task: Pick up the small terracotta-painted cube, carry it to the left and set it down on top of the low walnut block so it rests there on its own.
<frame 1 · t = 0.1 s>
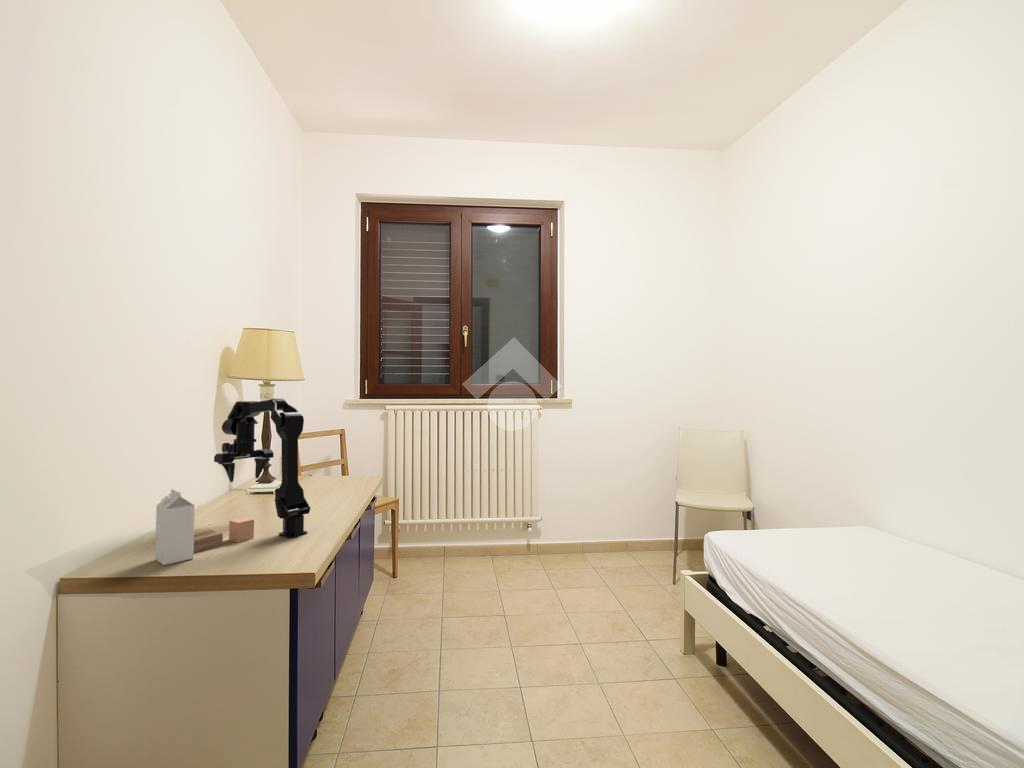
hand: (244, 480, 178), 15 cm above the table, fingers open, 9 cm apart
walnut block: (201, 547, 149), on the table
terracotta cube: (241, 539, 158), on the table
milk carton: (174, 560, 138), on the table
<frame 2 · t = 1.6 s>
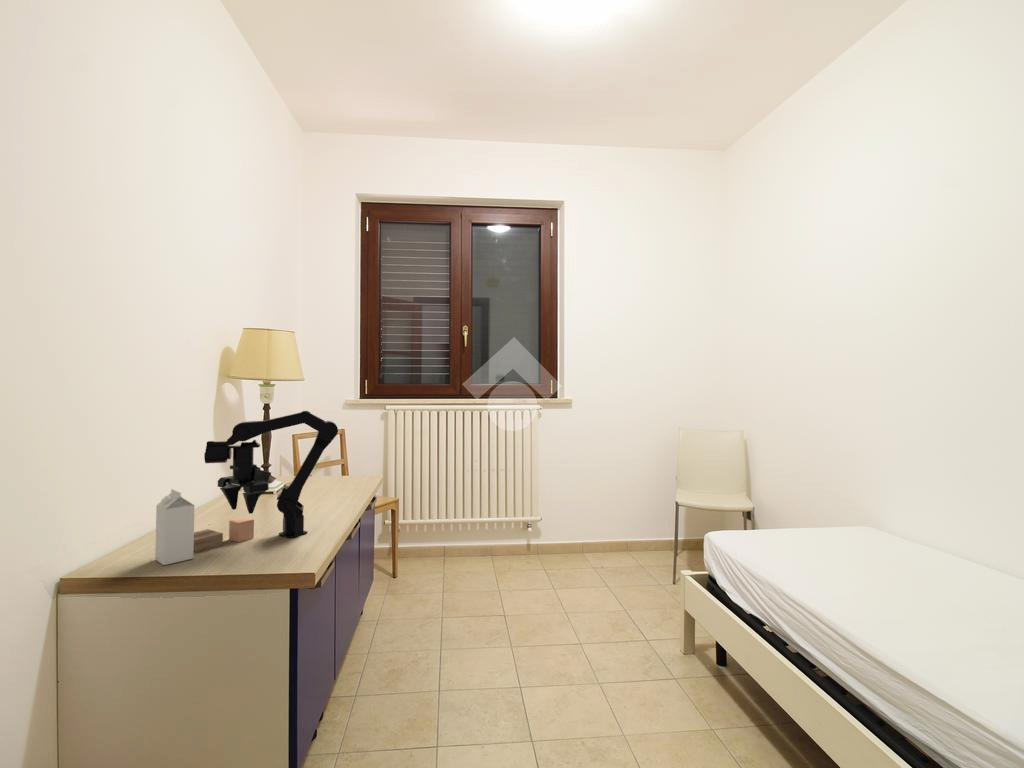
hand: (242, 511, 158), 9 cm above the table, fingers open, 9 cm apart
nothing on the table moved.
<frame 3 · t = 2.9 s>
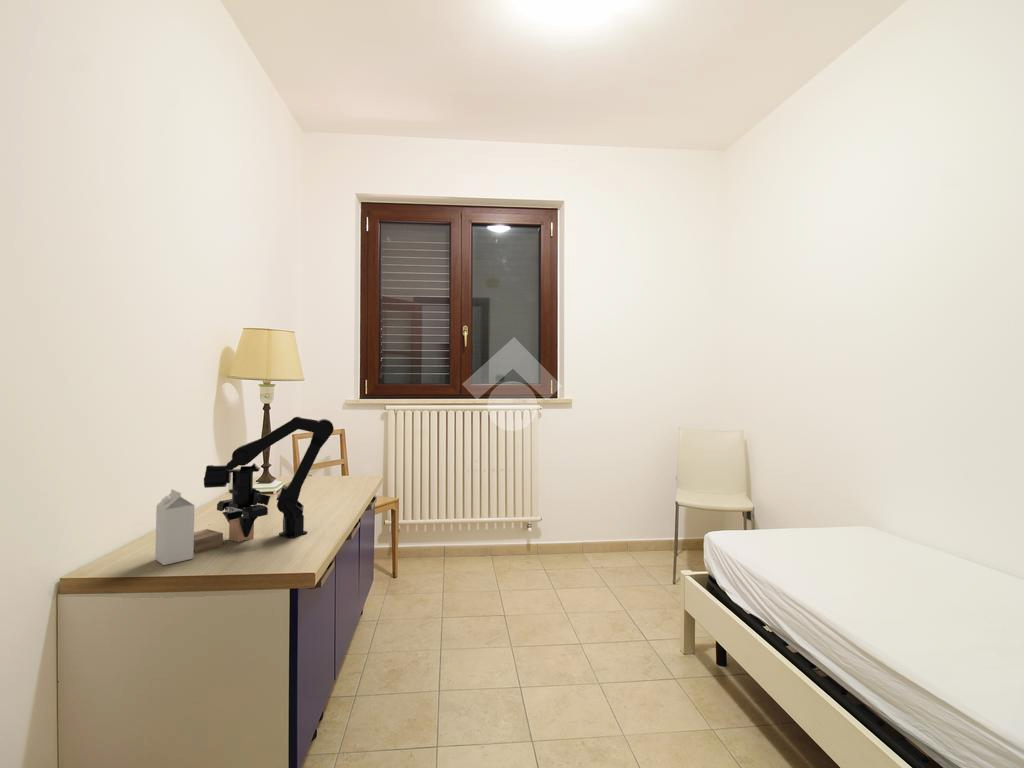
hand: (241, 535, 158), 1 cm above the table, fingers closed on terracotta cube, 5 cm apart
terracotta cube: (241, 538, 158), on the table, touching gripper
everything else where it was.
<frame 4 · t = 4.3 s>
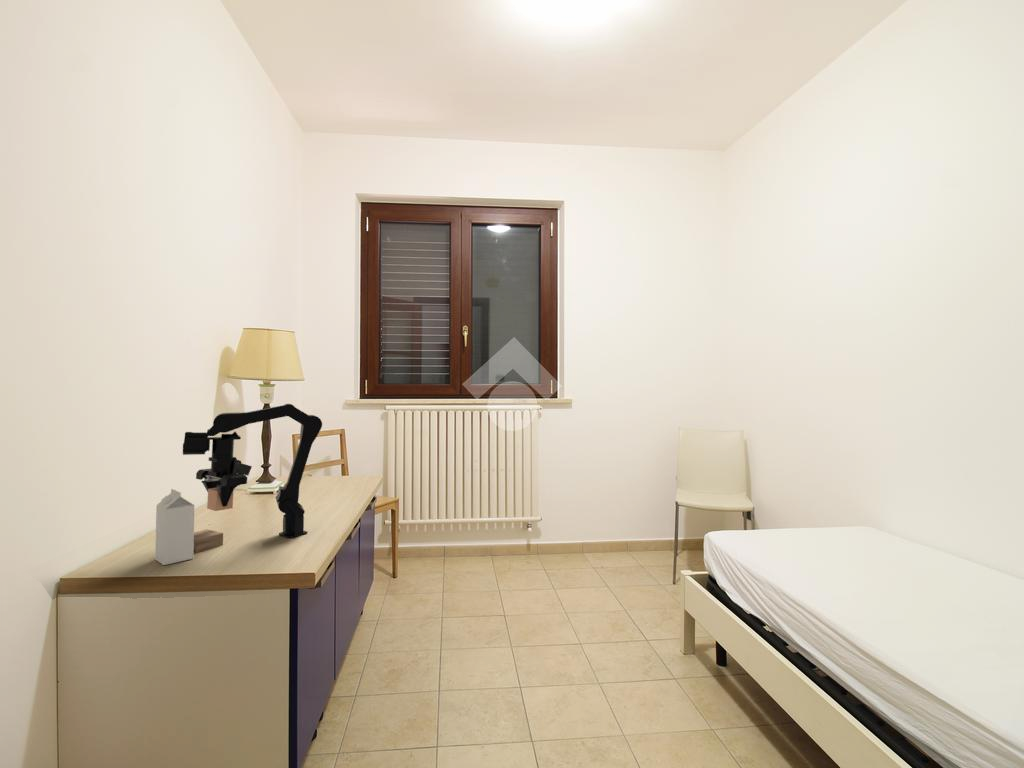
hand: (219, 505, 153), 12 cm above the table, fingers closed on terracotta cube, 5 cm apart
terracotta cube: (219, 508, 153), point 11 cm above the table, touching gripper
everything else where it was.
when the fingers open (7 cm above the table, at t = 5.7 s): terracotta cube drops 2 cm, point 4 cm above the table.
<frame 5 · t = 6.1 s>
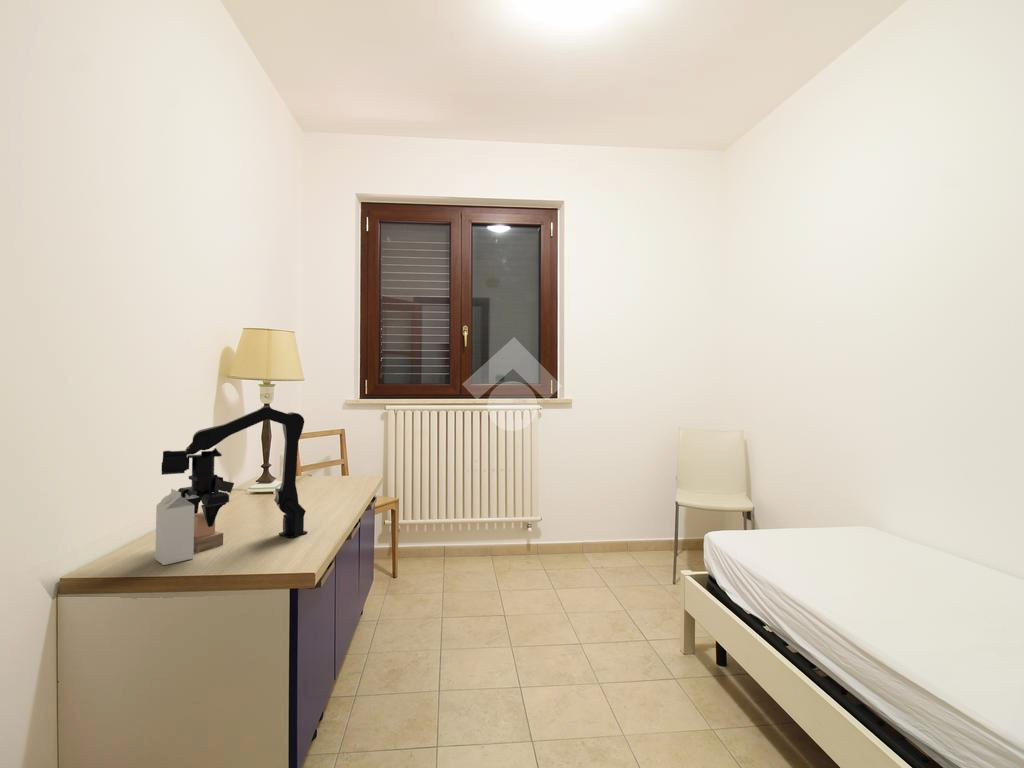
hand: (202, 524, 149), 7 cm above the table, fingers open, 9 cm apart
terracotta cube: (201, 534, 149), point 4 cm above the table
everything else where it was.
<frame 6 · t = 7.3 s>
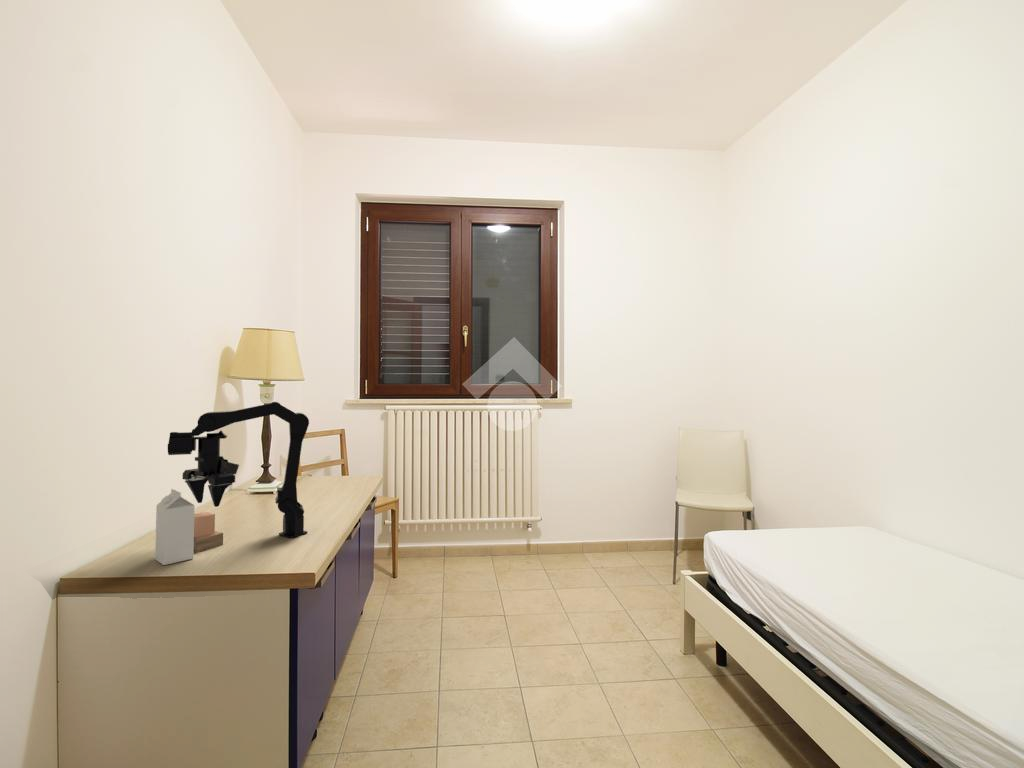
hand: (208, 504, 153), 12 cm above the table, fingers open, 9 cm apart
walnut block: (201, 547, 149), on the table, touching terracotta cube
terracotta cube: (201, 534, 149), point 4 cm above the table, touching walnut block
everything else where it was.
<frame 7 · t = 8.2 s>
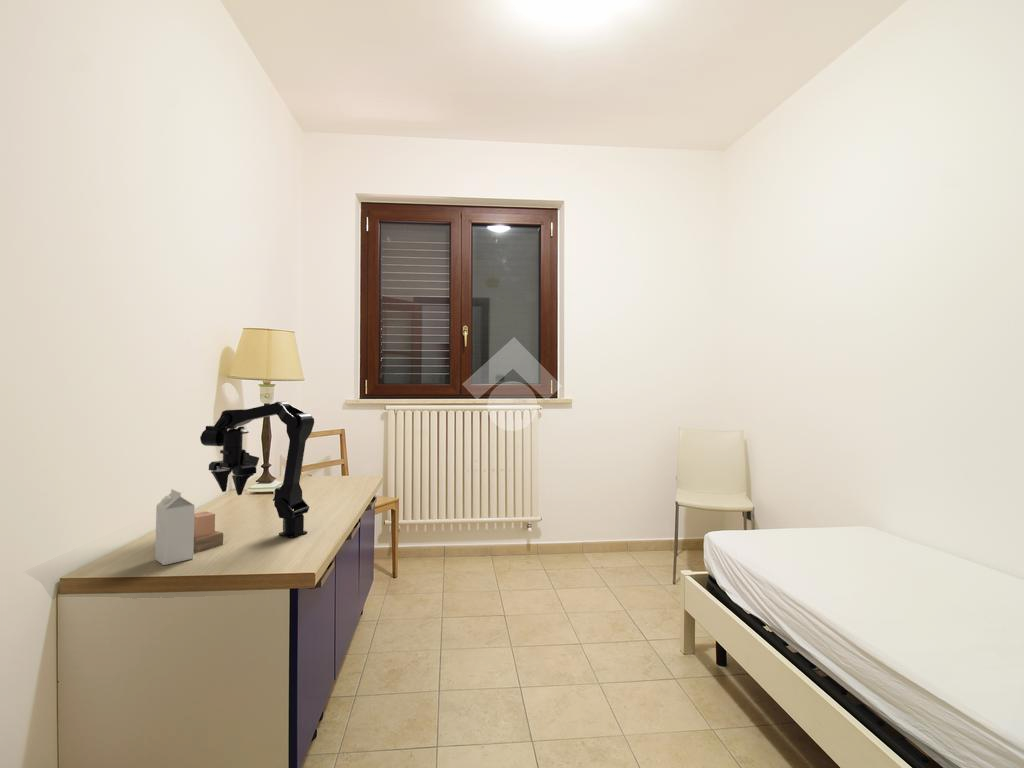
hand: (231, 493, 168), 12 cm above the table, fingers open, 9 cm apart
nothing on the table moved.
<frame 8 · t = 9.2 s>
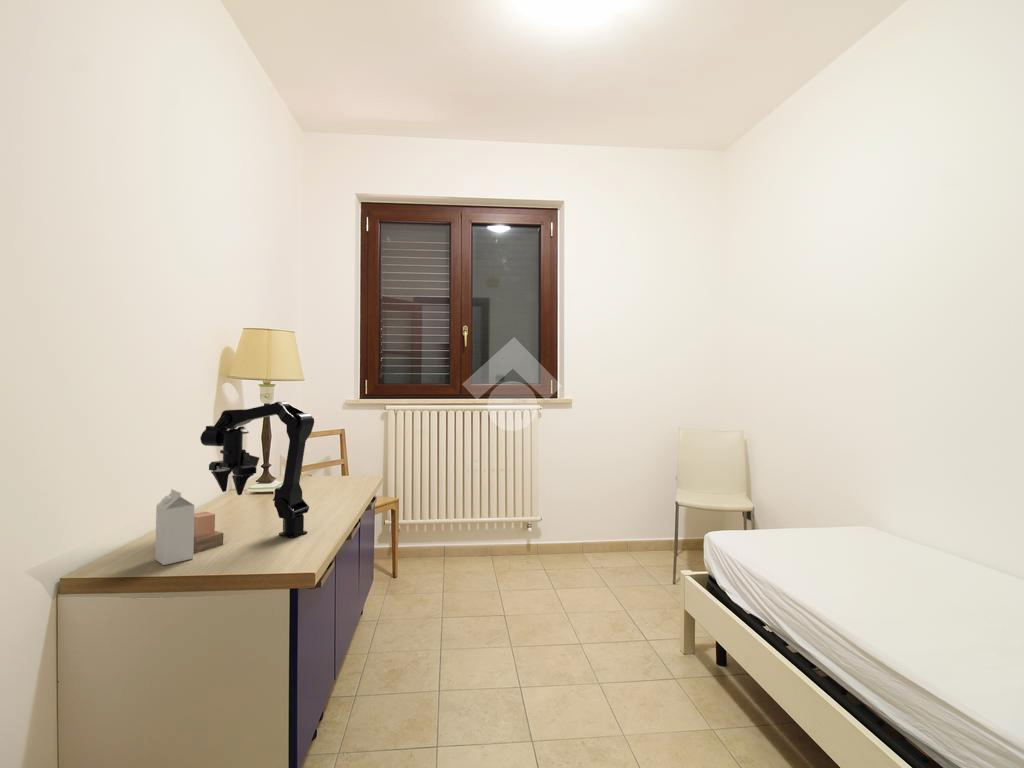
hand: (231, 493, 168), 12 cm above the table, fingers open, 9 cm apart
nothing on the table moved.
at the end: terracotta cube 0.4 cm off-centre on the walnut block, point 4.1 cm above the walnut block's base; terracotta cube tilted 2°; the gripper is holding nothing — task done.
